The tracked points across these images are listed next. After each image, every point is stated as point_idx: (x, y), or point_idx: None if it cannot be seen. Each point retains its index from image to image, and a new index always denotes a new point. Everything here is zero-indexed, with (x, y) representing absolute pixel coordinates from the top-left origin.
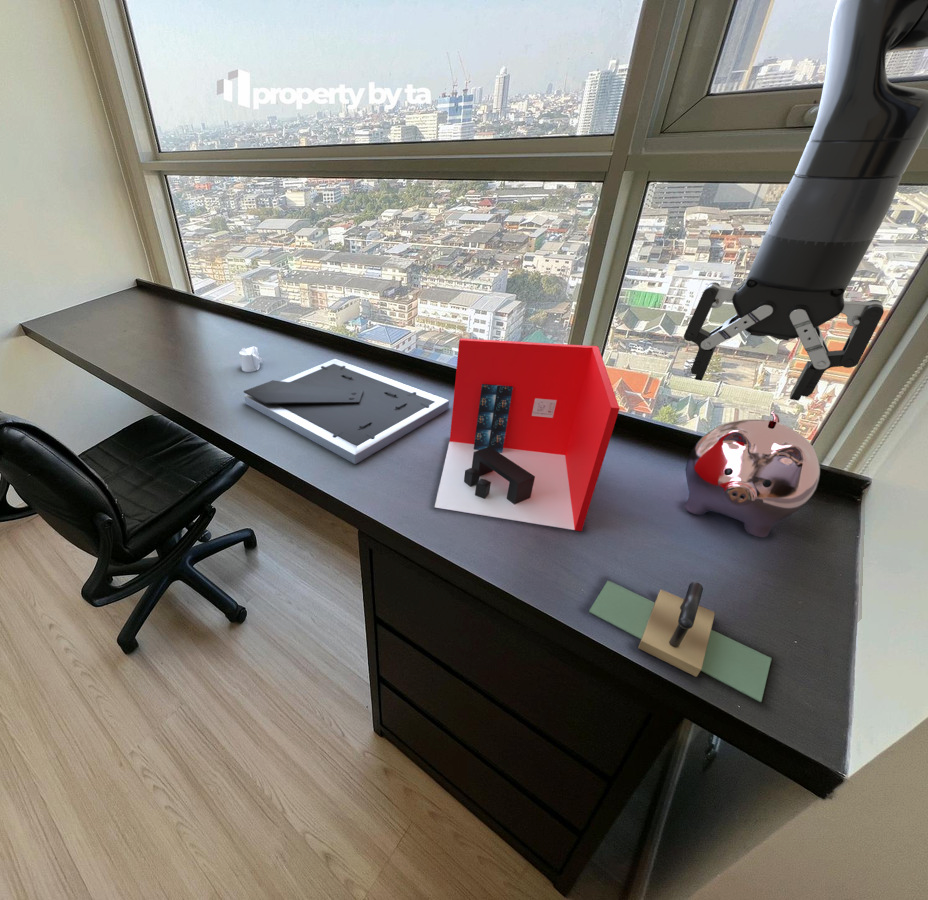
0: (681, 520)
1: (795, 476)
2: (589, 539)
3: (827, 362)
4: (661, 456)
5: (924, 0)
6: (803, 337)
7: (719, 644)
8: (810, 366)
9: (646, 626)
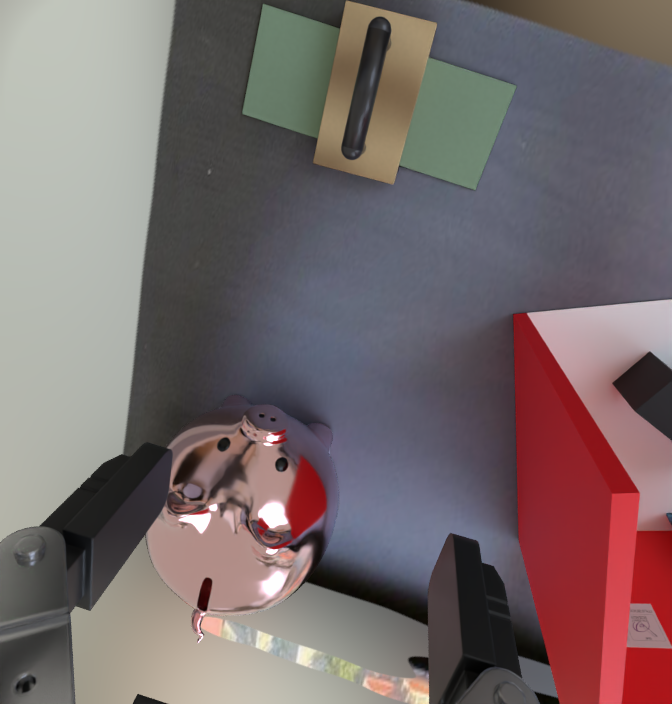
0: (339, 401)
1: (180, 464)
2: (499, 296)
3: (4, 551)
4: (357, 562)
5: None
6: (53, 697)
7: (309, 107)
8: (79, 554)
9: (423, 74)
